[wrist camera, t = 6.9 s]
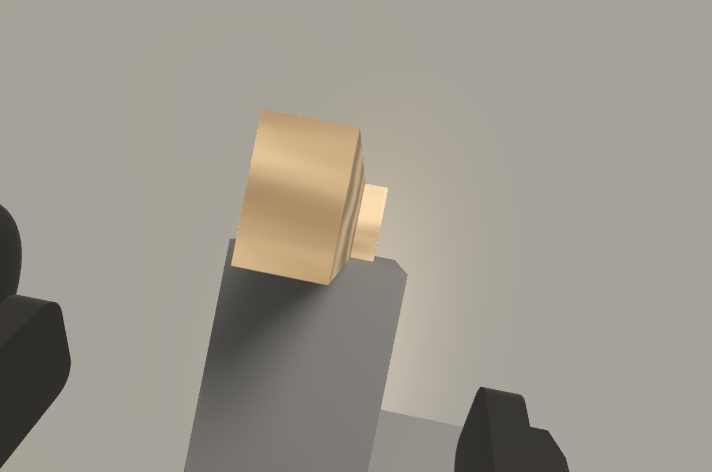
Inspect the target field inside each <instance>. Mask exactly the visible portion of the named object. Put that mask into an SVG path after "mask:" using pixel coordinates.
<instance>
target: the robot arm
mask: <svg viewBox="0 0 712 472" xmlns="http://www.w3.org/2000/svg"><path fill="white" fill-rule="evenodd" d="M21 260H22V248H21V240H20V234H19V231H18V228H17V225H16V223H15V221H14V219H13V218H12V216H11V215H10V213H9V212H8V211H7V210H6V209H5V208H4V207H3V206H1V205H0V468H1V467H2V466H3V464H4V463H5V462H6V461H7V459H8V458H9V457H10V456H11V454H12V453H13V452H14V451H15V449H16V448H17V447H18V446H19V444H20V443H21V442H22V440H23V439H24V438H25V437H26V435H27V434H28V433H29V432H30V430H31V429H32V428H33V427H34V425H35V424H36V423H37V422H38V420H39V419H40V418H41V416H42V415H43V414H44V413H45V411H46V410H47V409H48V407H49V406H50V405H51V404H52V402H53V401H54V400H55V399H56V398H57V396H58V395H59V393H60V392H61V391H62V389H63V388H64V385H65V383H66V381H67V379H68V376H69V372H70V367H71V359H70V353H69V348H68V342H67V337H66V331H65V327H64V321H63V315H62V311H61V308H60V306H59V305H58V304H57V303H56V302H50V301H46V300H41V299H36V298H30V297H26V296H21V295H16V293H17V288H18V284H19V278H20V271H21ZM454 472H569V469H568V465H567V461H566V458H565V456H564V455H563V453H562V452H561V450H560V448H559V447H558V445H557V444H556V442H555V441H554V439H553V438H552V436H551V435H550V433H549V432H548V431H547V430H543V429H538V428H533V427H530V424H529V419H528V414H527V409H526V404H525V401H524V398H523V397H522V395H519V394H514V393H509V392H504V391H499V390H494V389H489V388H484V387H480V388H479V390H478V391H477V393H476V396H475V399H474V401H473V404H472V406H471V409H470V411H469V414H468V416H467V419H466V421H465V424H464V427H463V429H462V432H461V434H460V437H459V440H458V443H457V448H456V454H455V464H454Z"/></svg>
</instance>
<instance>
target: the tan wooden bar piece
mask: <svg viewBox="0 0 712 472" xmlns="http://www.w3.org/2000/svg"><path fill="white" fill-rule="evenodd" d="M387 191H388V188H385V187H380V186H374V185H370V184H365V177H364V166H363V157H362V145H361V135H360V128H356V127H352V126H347V125H341V124H336V123H331V122H326V121H321V120H316V119H311V118H306V117H301V116H295V115H290V114H285V113H280V112H275V111H269V110H265V109H262V111H261V116H260V121H259V126H258V131H257V136H256V142H255V146H254V152H253V157H252V162H251V167H250V173H249V177H248V182H247V187H246V192H245V197H244V202H243V208H242V212H241V217H240V223H239V228H238V233H237V238H236V243H235V248H234V253H233V258H232V263H231V266H235V267H240V268H245V269H250V270H255V271H260V272H265V273H270V274H275V275H280V276H285V277H290V278H294V279H299V280H304V281H309V282H314V283H319V284H324V285H329V284H330V283H331V281H332V280H333V279H334V278H335V276H336V275H337V274H338V272H339V271H340V270H341V269H342V267H343V266H344V265H345V263H346V262H347V261H348V260H349V258H350V257H353V258H358V259H363V260H368V261H374V255H375V251H376V246H377V241H378V236H379V231H380V226H381V221H382V216H383V211H384V206H385V201H386V196H387Z"/></svg>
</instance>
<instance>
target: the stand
mask: <svg viewBox="0 0 712 472" xmlns="http://www.w3.org/2000/svg"><path fill="white" fill-rule="evenodd" d="M235 243H236V239H230V241H229V246H228V251H227V256H226V261H225V266H224V272H223V277H222V282H221V287H220V292H219V297H218V302H217V307H216V313H215V318H214V322H213V328H212V332H211V337H210V343H209V348H208V353H207V358H206V363H205V368H204V373H203V378H202V383H201V388H200V393H199V398H198V404H197V408H196V413H195V419H194V424H193V429H192V434H191V439H190V444H189V449H188V454H187V459H186V464H185V469H184V472H454V464H455V454H456V448H457V443H458V440H459V437H460V434H461V432H462V429H463V427H461V426H456V425H451V424H446V423H442V422H437V421H432V420H426V419H423V418H417V417H413V416H408V415H403V414H398V413H394V412H388V411H384V410H380V409H381V404H382V399H383V394H384V389H385V384H386V379H387V374H388V369H389V364H390V359H391V354H392V349H393V344H394V339H395V334H396V329H397V324H398V319H399V315H400V309H401V305H402V300H403V295H404V290H405V285H406V280H407V274H406V272H405V271H404V270H403V269H402V268H401V267H400V266H399V265H398V263H397V262H396V261H395V260H391V259H386V258H381V257H376V256H374V261H368V260H363V259H358V258H353V257H350V258H349V260H348V261H347V262H346V263H345V265H344V266H343V267H342V269H341V270H340V271H339V272H338V274H337V275H336V276H335V278H334V279H333V280H332V281H331V283H330V284H329V285H324V284H319V283H314V282H309V281H304V280H299V279H294V278H290V277H285V276H280V275H275V274H270V273H265V272H260V271H255V270H250V269H245V268H240V267H235V266H231V263H232V258H233V253H234V248H235Z"/></svg>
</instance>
